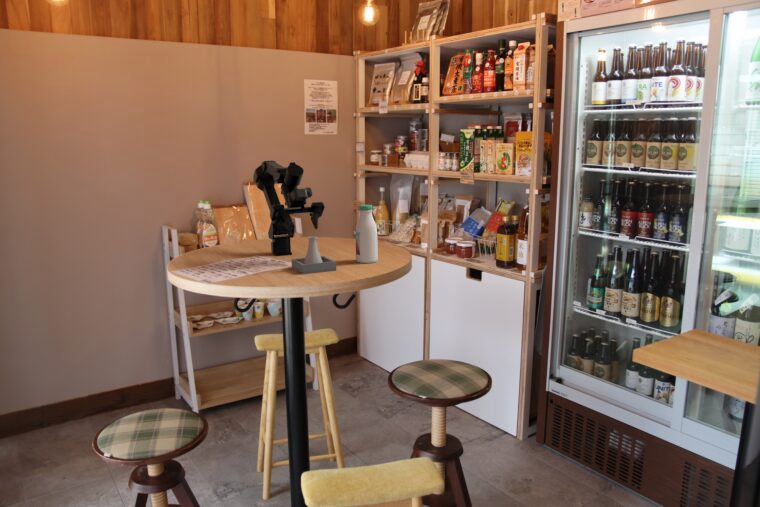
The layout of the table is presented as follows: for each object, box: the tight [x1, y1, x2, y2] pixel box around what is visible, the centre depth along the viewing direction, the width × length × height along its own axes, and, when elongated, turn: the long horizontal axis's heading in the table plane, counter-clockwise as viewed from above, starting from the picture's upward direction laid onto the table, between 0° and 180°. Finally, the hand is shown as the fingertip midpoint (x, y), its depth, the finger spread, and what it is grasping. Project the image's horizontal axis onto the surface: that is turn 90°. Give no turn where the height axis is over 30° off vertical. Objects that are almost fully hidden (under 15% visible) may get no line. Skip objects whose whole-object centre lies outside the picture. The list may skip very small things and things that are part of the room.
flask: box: [304, 236, 323, 264], centre depth 204 cm, size 7×7×10 cm
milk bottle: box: [355, 204, 379, 264], centre depth 215 cm, size 8×8×20 cm
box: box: [290, 255, 337, 275], centre depth 204 cm, size 12×12×3 cm
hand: (304, 229), depth 209 cm, fingers open, 9 cm apart
